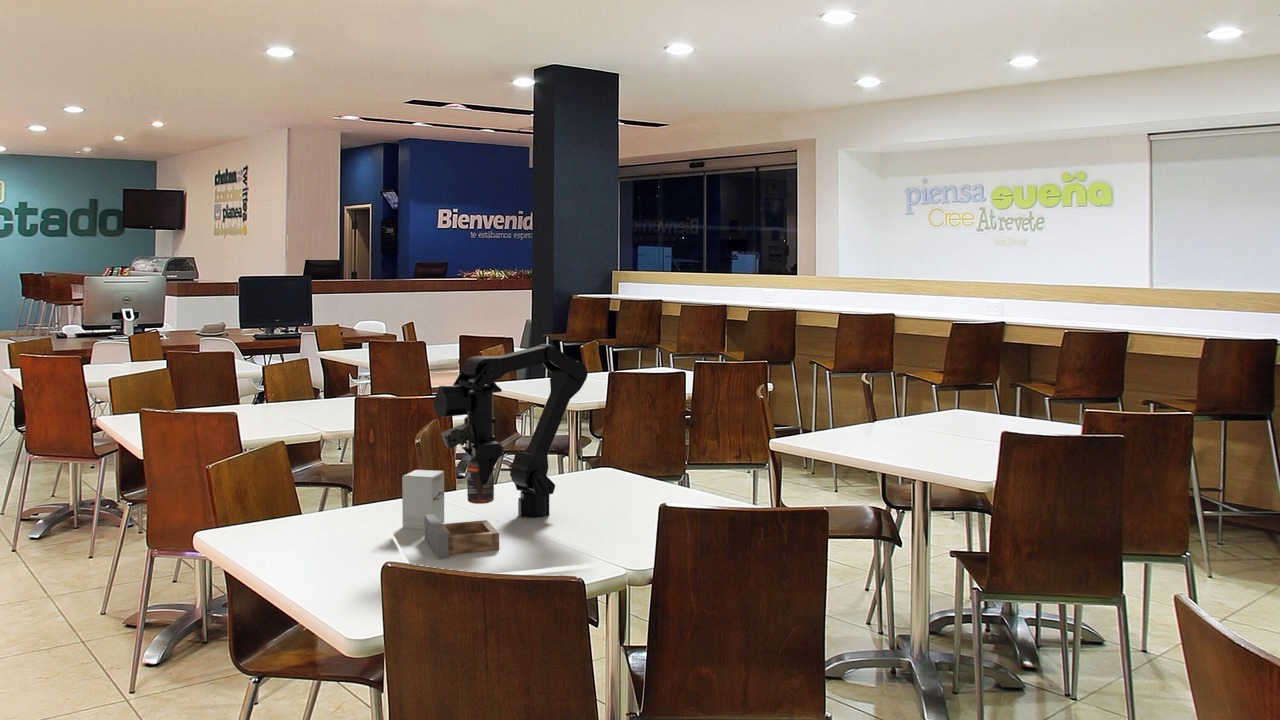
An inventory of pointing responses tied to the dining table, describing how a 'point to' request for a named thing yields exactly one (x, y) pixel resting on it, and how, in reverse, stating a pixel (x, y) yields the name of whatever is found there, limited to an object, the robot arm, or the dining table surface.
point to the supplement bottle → (478, 485)
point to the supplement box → (422, 497)
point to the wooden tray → (471, 537)
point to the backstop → (436, 536)
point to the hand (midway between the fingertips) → (480, 481)
